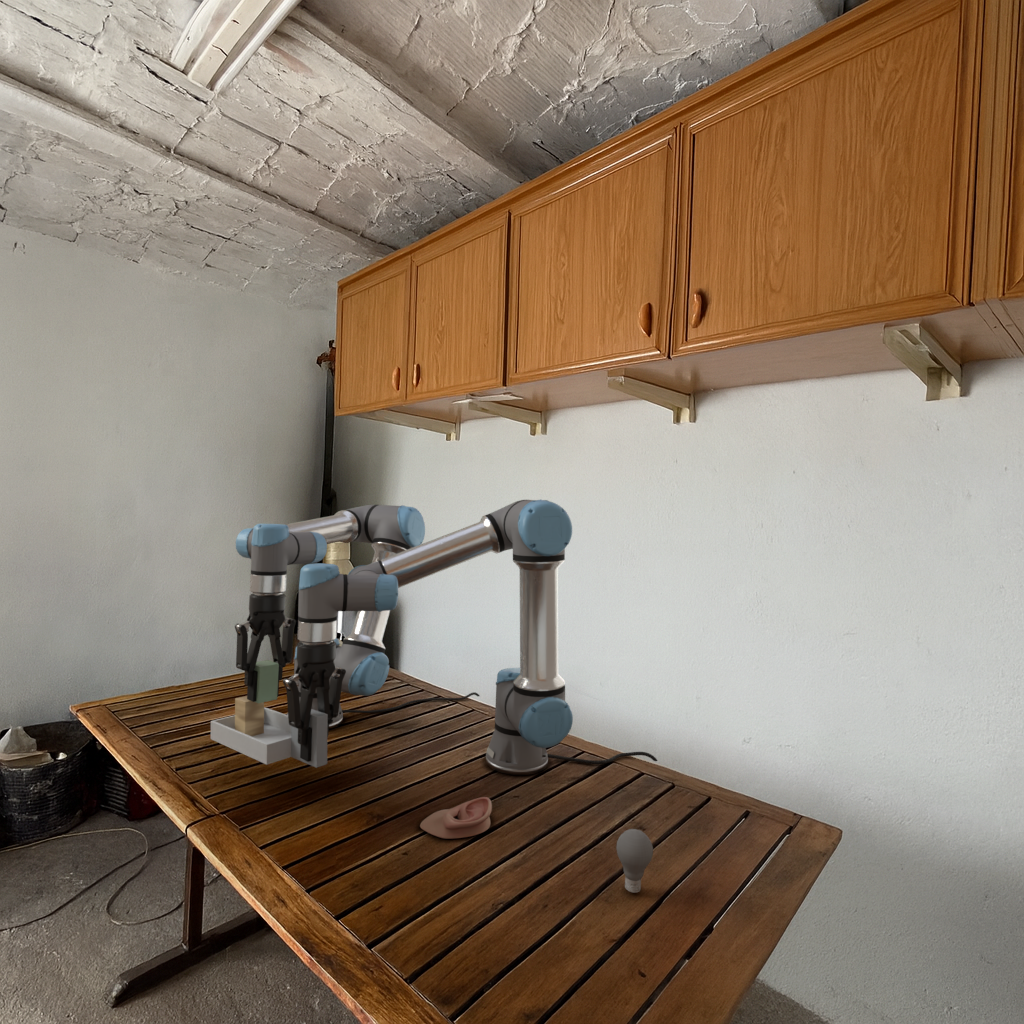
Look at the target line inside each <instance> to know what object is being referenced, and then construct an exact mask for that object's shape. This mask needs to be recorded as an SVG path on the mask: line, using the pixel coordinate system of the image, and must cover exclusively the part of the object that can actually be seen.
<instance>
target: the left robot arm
mask: <svg viewBox="0 0 1024 1024" xmlns="http://www.w3.org/2000/svg"><path fill="white" fill-rule="evenodd" d="M425 535H426V525H425V521H424V517H423V515H422V513H421V512H420V510H418V508H416V507H414V506H406V505H403V504H402V505H391V504H390V505H389V504H388V505H387V504H366V505H361V506H356V507H351V508H347V509H341V510H339V511H337V512H336V513H334V515H329V516H323V517H317V518H313V519H307V520H302V521H297V522H296V521H295V522H291V523H286V524H285V523H284V524H283V523H256V524H254V526H253V527H248V528H244V529H242V530H241V531H240V532H239V533H238V534H237V536H236V538H235V549H236V552H237V553H238V555H239V556H241V557H242V558H245V559H250V561H251V562H250V579H249V591H250V595H249V597H248V598H249V599H248V617H246V620H245V621H243V622H241V623H235V625H234V629H235V633H236V651H235V652H236V656H235V667H236V669H238V670H241V671H244V679H243V681H244V682H243V684H244V686H246V687H247V689H246V690H247V691H246V692H247V693H246V696H247V699H248V700H250V701H252V702H255V701H256V698H257V677H258V671H255V666H256V662H258V658H259V654H260V650H261V646H262V642H263V641H264V639H265V637H266V636H267V637H268V639H269V644H270V650H271V655H272V662H275V663H278V664H279V671H278V691H277V698H279V693H280V681H283V670H284V668H285V667H286V666H287V664H290V663H291V662H292V659H293V662H294V663H293V665H294V666H293V675H294V674H295V671H296V669H297V666H298V663H297V646H296V647H295V652H294V653H295V654H294V657H292V656H293V644H294V643H293V640H294V629H295V626H296V624H297V619H294V618H290V617H287V616H286V614H285V610H286V597H287V596H286V595H285V592H286V591H287V573H288V566H290V565H307V564H316V563H320V561H322V560H323V559H324V558H325V557H326V554H327V551H328V545H330V544H334V543H338V542H340V543H343V544H349V543H367V544H371V548H372V549H373V551H374V554H373V557H372V561H371V563H374V562H377V561H379V560H381V559H384V558H387V557H389V556H392V555H394V554H397V553H400V552H402V551H405V550H408V549H410V548H413V547H415V546H418V545H421V544H423V543H424V540H425V537H426V536H425ZM390 613H391V610H387V611H381V612H378V611H356V616H355V619H354V623H353V625H352V628H351V633H350V634H349V635H347V636H346V637H344V638H343V641H342V642H343V643H342V646H341V647H340V646H339V645H340V643H339V640H338V639H339V638H336V639H335V640H333V641H335V643H336V657H335V659H334V663H335V666H336V667H339V668H342V669H345V670H346V673H345V676H344V678H343V681H342V688H341V693H345V694H350V695H353V696H362V697H369V696H372V695H375V694H376V693H377V692H378V691H379V690H381V688H382V687H383V685H384V684H385V683H386V680H387V678H388V675H389V672H390V664H389V663H390V660H389V658H388V656H387V655H386V654H385V652H386V647H385V644H384V643H383V638H384V635H385V631H386V627H387V625H388V620H389V616H390ZM281 627H282V636H281ZM249 628H250V629H249ZM250 630H251V632H250V633H251V634H250V641H249V634H248V632H249V631H250ZM331 676H332V675H331ZM330 680H331V677H330V679H329V684H330ZM298 683H299V686H298V690H299V700H300V698H301V691H300V688H301V682H300V681H298ZM471 696H476V697H481V696H480V694H479V693H478V692H470V693H468V694H466V695H465V696H462V697H429V698H419V699H414V700H410V701H407V702H404V703H402V704H399V705H396V706H393V707H388V708H381V709H371V710H364V709H363V710H361V709H342V706H341V702H340V703H339V711H338V716H337V717H336V718H332V720H333V722H332V723H331V724H329V730H332V729H335V728H337V727H339V726H340V725H342V723H343V722H344V714H343V713H347V714H349V713H351V714H352V713H355V714H357V713H358V714H376V713H383V712H389V711H394V710H398V709H400V708H403V707H405V706H408V705H411V704H414V703H421V702H430V701H463V700H466V699H468V698H469V697H471ZM311 709H313V710H316V711H318V703H317V690H316V691H315V694H314V695H313V701H312V708H311ZM286 715H288V712H287V713H286Z"/></svg>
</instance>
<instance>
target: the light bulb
mask: <svg viewBox="0 0 1024 1024" xmlns="http://www.w3.org/2000/svg"><path fill="white" fill-rule="evenodd" d="M615 849H616V854H617V857H618V859H619V861H620V863H621V865H622V867H623V873H624V874H623V875H624V876H625V878H624V888H625V890H627V891H628V892H630V893H634V894H635V893H639V892H640V891H641V889H642V887H641V886H642V879H643V877H644V875H645V871H646V868H647V867H648V866H649V864H650V863H651V861H652V859H653V855H654V847H653V843H652V841H651V838H649V836H648V835H647V834H646V833H645V832H643V831H642V830H641V829H636V828H629V829H627V830H625V831H623V832H622V833H621V834H620V835H619V837H618V839H617V841H616V847H615Z"/></svg>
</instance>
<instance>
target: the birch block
mask: <svg viewBox="0 0 1024 1024" xmlns="http://www.w3.org/2000/svg"><path fill="white" fill-rule="evenodd" d="M264 708H265V702H263V703H256V702H252V701H250V700H248V699H247V695H245V696H244V695H243V696H239V697H236V698H234V715H235V730H237V731H240V732H242V733H244V734H247V735H249V736H255V735H259V734H262V733H264Z"/></svg>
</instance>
